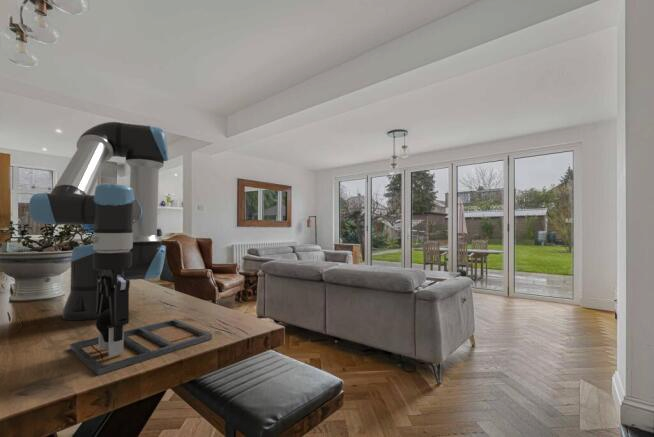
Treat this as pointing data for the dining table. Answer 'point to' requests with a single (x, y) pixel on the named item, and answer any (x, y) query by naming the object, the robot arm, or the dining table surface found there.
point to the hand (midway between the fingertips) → (110, 350)
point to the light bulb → (104, 326)
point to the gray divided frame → (145, 353)
